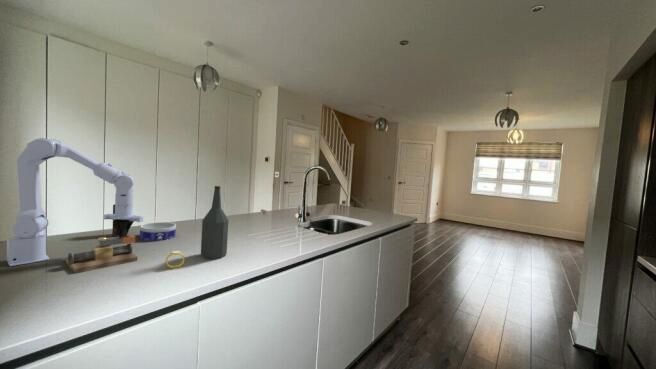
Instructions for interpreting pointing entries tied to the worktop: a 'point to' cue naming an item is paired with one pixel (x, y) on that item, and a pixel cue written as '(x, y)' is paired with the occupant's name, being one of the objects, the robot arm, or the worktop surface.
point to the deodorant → (114, 231)
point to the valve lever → (115, 240)
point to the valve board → (101, 262)
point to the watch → (174, 254)
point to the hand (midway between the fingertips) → (123, 238)
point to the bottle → (214, 230)
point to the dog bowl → (157, 231)
